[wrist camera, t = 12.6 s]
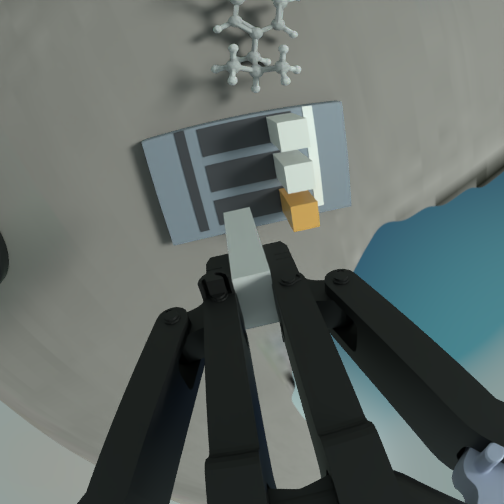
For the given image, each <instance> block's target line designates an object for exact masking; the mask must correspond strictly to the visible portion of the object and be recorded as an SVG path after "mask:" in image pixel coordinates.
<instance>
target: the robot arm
mask: <svg viewBox="0 0 504 504" xmlns="http://www.w3.org/2000/svg"><path fill="white" fill-rule="evenodd" d="M223 214H224V222H225V230H226V239H227V247H228V254H225V255H220V256H216V257H212V258H210V259H209V261H208V262H207V264H206V271H207V272H206V274H205V275H204V276H202V277H201V278H200V279H199V281H198V286H199V289H200V292H201V295H202V298H203V303H202V304H201V305H200V306H199V307H197V308H195V309H193V310H191V311H189V312H186V310H185V309H183V308H180V307H174V308H170V309H167V310H165V311H164V312H162V313H161V314H160V315H159V317H158V318H157V320H156V322H155V324H154V326H153V329H152V331H151V333H150V335H149V337H148V340H147V342H146V344H145V346H144V349H143V351H142V353H141V355H140V358H139V360H138V362H137V365H136V367H135V369H134V371H133V374H132V376H131V378H130V381H129V383H128V386H127V388H126V390H125V393H124V395H123V398H122V400H121V402H120V405H119V407H118V410H117V412H116V415H115V417H114V420H113V422H112V425H111V427H110V430H109V432H108V435H107V437H106V440H105V443H104V445H103V448H102V450H101V453H100V456H99V458H98V461H97V464H96V467H95V469H94V472H93V475H92V477H91V480H90V483H89V486H88V489H87V492H86V493H85V495H84V496H83V497H82V498H81V500H80V501H79V502H78V503H77V504H169V503H170V499H171V494H172V490H173V486H174V482H175V478H176V474H177V470H178V466H179V462H180V458H181V454H182V450H183V446H184V443H185V439H186V435H187V431H188V427H189V423H190V419H191V415H192V411H193V408H194V404H195V400H196V396H197V392H198V388H199V385H200V381H201V377H202V373H203V369H204V366H205V382H206V404H207V422H208V438H209V457H208V458H207V459H206V461H205V482H206V495H207V504H504V402H502V401H500V400H498V399H496V398H495V397H494V396H492V394H490V393H489V392H488V391H487V390H486V389H485V388H484V387H483V386H482V385H481V384H480V383H479V382H478V381H477V380H476V379H475V378H474V377H473V376H472V375H470V374H469V373H468V372H467V371H466V370H465V369H464V368H463V367H462V366H461V365H460V364H459V363H458V362H457V361H455V360H454V359H453V358H452V357H451V356H450V355H449V354H448V353H447V352H446V351H444V350H443V349H442V348H441V347H440V346H439V345H438V344H437V343H436V342H434V341H433V340H432V339H431V338H430V337H429V336H428V335H427V334H425V333H424V332H423V331H422V330H421V329H420V328H419V327H418V326H416V325H415V324H414V323H413V322H412V321H411V320H409V319H408V318H407V317H406V316H405V315H404V314H403V313H401V312H400V311H399V310H398V309H397V308H396V307H394V306H393V305H392V304H391V303H390V302H389V301H387V300H386V299H385V298H384V297H383V296H381V295H380V294H379V293H378V292H377V291H375V290H374V289H373V288H372V287H371V286H369V285H368V284H367V283H366V282H365V281H364V280H362V279H361V278H360V277H359V276H358V275H356V274H355V273H354V272H352V271H350V270H346V269H337V270H333V271H331V272H329V273H328V274H327V275H326V276H325V280H309V279H306V278H305V277H304V276H303V275H302V274H301V273H299V271H298V269H297V267H296V265H295V262H294V260H293V258H292V256H291V254H290V252H289V249H288V247H287V245H286V244H284V243H282V242H281V241H279V242H274V243H270V244H265V245H262V244H261V241H260V238H259V235H258V232H257V229H256V225H255V222H254V219H253V216H252V213H251V210H250V207H247V208H243V209H238V210H234V211H229V212H225V213H223ZM8 265H9V259H8V252H7V248H6V244H5V242H4V239H3V237H2V235H1V233H0V283H1V282H2V281H3V279H4V278H5V276H6V274H7V271H8ZM279 321H280V327H281V332H282V338H283V342H285V346H286V349H287V353H288V356H289V360H290V364H291V367H292V371H293V374H294V378H295V381H296V385H297V389H298V392H299V396H300V399H301V403H302V407H303V410H304V413H305V417H306V421H307V425H308V428H309V432H310V435H311V439H312V443H313V446H314V450H315V454H316V457H317V461H318V465H319V469H320V474H321V479H319V480H318V481H316V482H314V483H312V484H310V485H308V486H305V487H303V488H301V489H277V488H276V484H275V481H274V477H273V473H272V468H271V462H270V457H269V452H268V447H267V441H266V436H265V431H264V425H263V420H262V415H261V409H260V404H259V398H258V393H257V387H256V382H255V376H254V370H253V365H252V359H251V353H250V348H249V342H248V337H247V333H246V330H245V329H250V328H254V327H259V326H263V325H268V324H272V323H276V322H279ZM330 334H331V335H332V336H333V337H334V338H335V340H336V341H337V342H338V343H339V344H340V345H341V347H342V348H343V349H344V350H345V351H346V352H347V354H348V355H349V356H350V357H351V358H352V359H353V361H354V362H355V363H356V364H357V365H358V366H359V368H360V369H361V370H362V371H363V372H364V373H365V375H366V376H367V377H368V378H369V379H370V380H371V382H372V383H373V384H374V385H375V386H376V387H377V388H378V390H379V391H380V392H381V393H382V394H383V396H384V397H385V398H386V399H387V400H388V401H389V403H390V404H391V405H392V406H393V407H394V408H395V410H396V411H397V412H398V413H399V414H400V416H401V417H402V418H403V419H404V420H405V421H406V423H407V424H408V425H409V426H410V427H411V428H412V430H413V431H414V432H415V433H416V434H417V436H418V437H419V438H420V439H421V440H422V441H423V442H424V444H425V445H426V446H427V447H428V448H429V450H430V451H431V452H432V453H433V454H434V455H435V456H436V457H437V458H438V459H439V460H440V461H441V462H442V463H444V464H445V465H446V466H448V467H449V468H450V469H452V470H453V475H452V480H453V484H454V487H455V488H456V489H457V490H458V491H459V492H460V493H461V494H462V495H463V497H464V499H465V503H464V502H462V501H460V500H457V499H455V498H453V497H451V496H448V495H446V494H444V493H442V492H439V491H438V490H435V489H433V488H431V487H429V486H427V485H425V484H423V483H421V482H419V481H417V480H415V479H413V478H411V477H409V476H407V475H405V474H403V473H400V472H397V471H394V470H393V469H392V467H391V464H390V462H389V459H388V457H387V454H386V452H385V449H384V447H383V444H382V442H381V439H380V437H379V434H378V432H377V430H376V428H375V426H374V424H373V423H372V422H370V421H368V420H367V419H366V418H365V415H364V414H363V411H362V408H361V406H360V403H359V401H358V398H357V396H356V394H355V391H354V389H353V386H352V384H351V382H350V379H349V377H348V375H347V372H346V370H345V367H344V365H343V363H342V360H341V358H340V356H339V353H338V351H337V349H336V347H335V344H334V342H333V339H332V337H331V335H330Z"/></svg>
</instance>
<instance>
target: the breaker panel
mask: <svg viewBox="0 0 504 504" xmlns="http://www.w3.org/2000/svg"><path fill="white" fill-rule="evenodd" d="M142 146H143V149H144V153H145V156H146V160H147V163H148V166H149V170H150V173H151V177H152V180H153V183H154V186H155V190H156V193H157V196H158V199H159V202H160V205H161V209H162V212H163V215H164V218H165V221H166V224H167V227H168V230H169V233H170V236H171V239H172V242H173V245H178V244H182V243H187V242H191V241H195V240H199V239H204V238H208V237H212V236H216V235H221V234H225V233H226V230H225V222H224V214H223V213H225V212H229V211H234V210H238V209H243V208H247V207H250V210H251V213H252V216H253V219H254V222H255V225H256V226H260V225H265V224H269V223H274V222H278V221H283V220H287V218H286V217H285V215H284V213H283V211H282V205H281V199H280V192H279V189H281V188H284V189H285V190H286V192H287V193H288V194H291V193H296V192H301V191H306V190H308V191H309V192H310V193H311V194H312V196H313V197H314V198H315V199H316V200H317V201H318V211H319V213H320V212H325V211H329V210H334V209H339V208H344V207H349V206H351V192H350V178H349V165H348V153H347V143H346V133H345V124H344V116H343V108H342V102H341V101H328V102H319V103H311V104H304V105H297V106H290V107H284V108H277V109H271V110H266V111H260V112H255V113H249V114H244V115H239V116H234V117H230V118H225V119H220V120H216V121H212V122H207V123H203V124H199V125H195V126H191V127H187V128H183V129H179V130H176V131H172V132H168V133H165V134H161V135H158V136H154V137H151V138H147V139H145V140H143V141H142Z"/></svg>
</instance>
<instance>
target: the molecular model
mask: <svg viewBox="0 0 504 504" xmlns="http://www.w3.org/2000/svg"><path fill="white" fill-rule="evenodd" d="M244 1H245V0H230V2H231V3H232V4H233V5H234V13H233V16H231V17H230V18H229V20H228V22H226V23H224V24H222V25H220V26H218V25H216V26H215V27H213V31H214V32H215V33H220V32H221V31H222V30H223V29H225V28H227V27H230V26H232V27H238V28H240V29H242V30H244V31H245V32H247V33H249V36H250V37H251V38H252V39H253V40H252V51H251V52H249V53H248V55H247V56H244V57H236V52H237V51H238V49H239V48H238V45H236V44H231V45H230V46H229V48H228V49H229V51H230V61H228V62H227V64H226V65H223V66H219V65H213V66H212V68H211V71H212V72H213V73H219V71H223V70H227V72H229V73H230V75H229V78H228V79H227V80H228V84H230V85H235V84H236V83H237V77H235V74H236V73H238V72H239V71H245V72H249V74H250V75H251V76H252V77H253V86H252V87H251V90H252V92H254V93H258V92H259V91H260V86H259V77H261V76H262V74H263V73H264V72H271V71H276V72H277V73H280V74H281V84H282V85H285V86H286V85H289V84H290V82H291V81H290V78H289V77H287V75H286V72H288V71H293V73H295V74H298V73H300V72H301V68H300V66H297V65H295V66H289V64H288V63H287V62H286V61H285V59H286V53H287V52H288V47H287V46H286V45H281V46H279V51H280V60H279V61H278V62H276V63H275V65H273V66H268V65H270V64H271V60H270V59H269V58H265V59H264V58H262V57H261V56H260V54H259V53H258V52H257V47H258V39H259V38H261V37H262V35H263V32H266V31H268V30H271V29H275V30H283V31H285V32H286V33H288V34H289V36H290V37H291V38H296V37H297V35H298V34H297V32H296V31H293V30H291V29H289V28H287V27H286V26H285V22H284V21H283V20H282V19H283V10H284V8H285V7H286V6H287V3H288V2H291V1H294V0H272V1H274V2H273V4H274V6H275V7H276V8H277V9H276V18H275V19H273V21H272V23H271V25H269V26H266V27H264V28H261V29H260V28H259V27H254V26H252V25H251V24H249V23H247V22H245V21H244V20H242V18H241V17H240V16H238V11H239V5H241V4H242V3H243V2H244ZM296 1H300V0H296ZM243 61H249V62H251V63H252V66H251V67H247V66H242V65H241V64H240V63H241V62H243ZM258 61H260V62H262V63H263V64H264V65H265V66H267V67H262V66H260V65H258Z"/></svg>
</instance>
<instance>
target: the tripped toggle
mask: <svg viewBox="0 0 504 504" xmlns="http://www.w3.org/2000/svg"><path fill="white" fill-rule="evenodd" d="M279 192H280V199H281V205H282V211H283V213H284V215H285V217H286V218H287V220H288V222H289V224H290V226H291V227H292V229H293V231H294V232H297V231H301V230H306V229H310V228H315V227H319V226H320V221H319V211H318V201H317V200H316V199H315V198H314V197H313V196H312V194H311V193H310V192H309V191H308V190H306V191H301V192H296V193H291V194H288V193H287V192H286V190H285V189H284V188H281V189H279Z"/></svg>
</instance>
